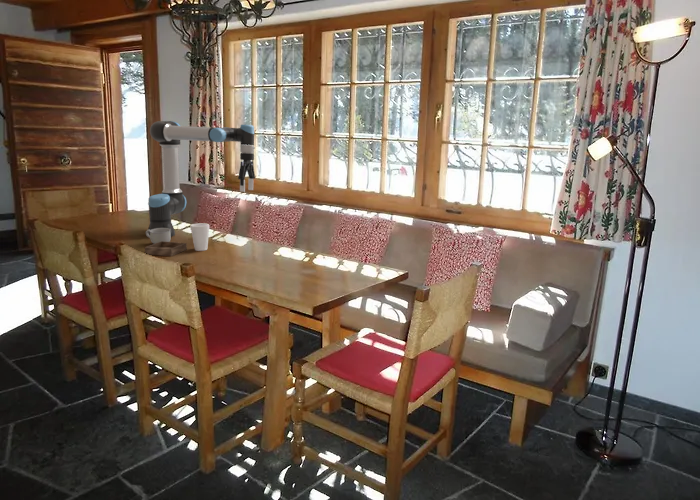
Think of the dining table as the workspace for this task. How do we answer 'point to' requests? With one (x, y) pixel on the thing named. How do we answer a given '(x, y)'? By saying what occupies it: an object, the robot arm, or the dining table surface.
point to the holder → (165, 248)
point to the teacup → (159, 235)
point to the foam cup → (200, 236)
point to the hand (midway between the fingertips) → (246, 190)
